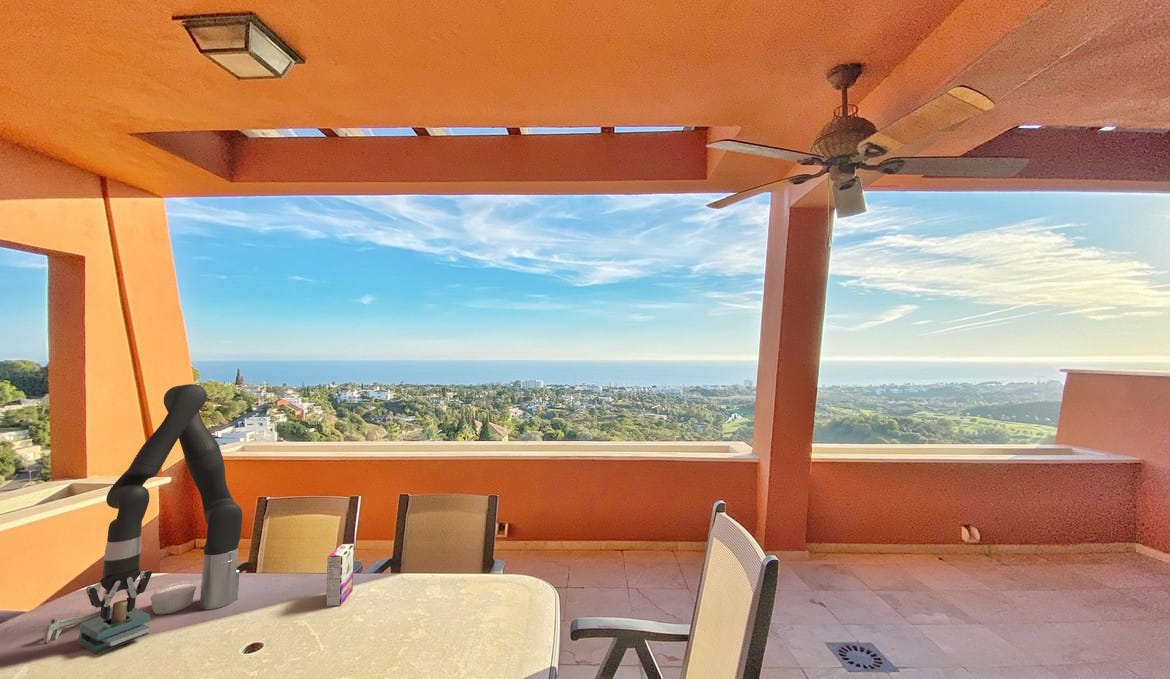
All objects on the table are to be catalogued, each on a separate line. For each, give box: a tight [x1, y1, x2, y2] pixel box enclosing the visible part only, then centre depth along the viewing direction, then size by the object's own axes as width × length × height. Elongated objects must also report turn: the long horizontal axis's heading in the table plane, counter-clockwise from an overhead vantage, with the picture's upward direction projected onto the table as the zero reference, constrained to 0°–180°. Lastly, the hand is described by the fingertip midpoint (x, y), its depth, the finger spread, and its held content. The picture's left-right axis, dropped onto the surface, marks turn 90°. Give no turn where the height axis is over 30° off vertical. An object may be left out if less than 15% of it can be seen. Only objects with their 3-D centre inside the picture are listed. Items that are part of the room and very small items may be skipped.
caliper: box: [43, 606, 113, 644], centre depth 138 cm, size 20×1×6 cm, turn 178°
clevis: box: [78, 606, 151, 655], centre depth 130 cm, size 11×16×6 cm
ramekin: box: [150, 583, 197, 615], centre depth 149 cm, size 11×11×5 cm
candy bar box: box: [325, 543, 355, 608], centre depth 155 cm, size 11×5×16 cm, turn 8°
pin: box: [111, 599, 128, 624], centre depth 131 cm, size 3×3×10 cm
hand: (117, 614), depth 131 cm, fingers open, 4 cm apart
